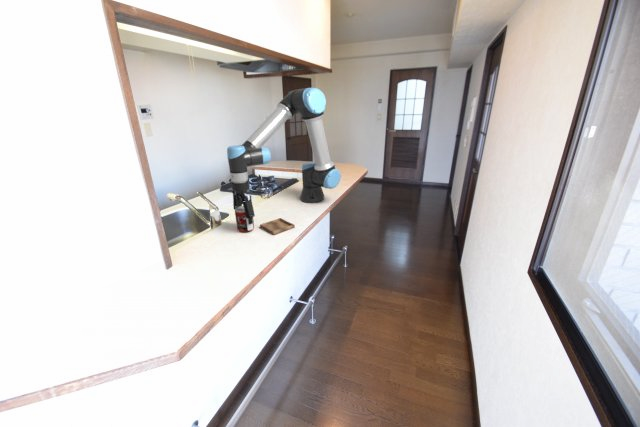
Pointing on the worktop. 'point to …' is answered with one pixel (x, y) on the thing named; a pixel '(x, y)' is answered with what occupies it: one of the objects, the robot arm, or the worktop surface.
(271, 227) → the coaster board
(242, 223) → the canned food
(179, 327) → the worktop surface
